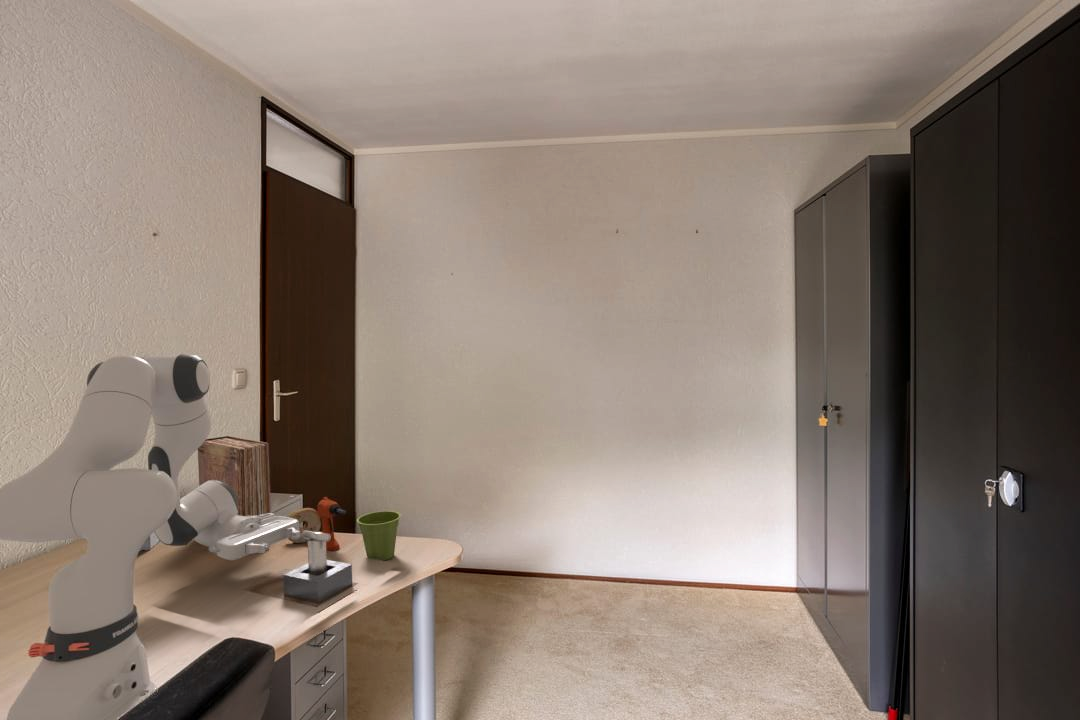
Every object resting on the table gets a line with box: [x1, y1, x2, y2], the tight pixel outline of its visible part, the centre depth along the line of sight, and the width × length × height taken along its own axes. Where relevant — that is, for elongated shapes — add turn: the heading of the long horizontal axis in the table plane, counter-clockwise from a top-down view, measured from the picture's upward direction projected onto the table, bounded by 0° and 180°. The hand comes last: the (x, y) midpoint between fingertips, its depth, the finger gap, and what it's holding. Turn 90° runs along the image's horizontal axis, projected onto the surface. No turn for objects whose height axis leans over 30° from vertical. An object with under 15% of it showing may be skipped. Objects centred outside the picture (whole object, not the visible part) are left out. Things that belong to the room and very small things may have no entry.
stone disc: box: [287, 507, 322, 544], centre depth 170 cm, size 10×4×10 cm, turn 135°
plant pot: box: [356, 510, 402, 562], centre depth 157 cm, size 12×12×11 cm
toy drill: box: [316, 496, 347, 552], centre depth 161 cm, size 5×19×15 cm, turn 40°
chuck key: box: [301, 531, 331, 576], centre depth 133 cm, size 8×4×14 cm, turn 66°
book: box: [197, 435, 272, 516], centre depth 174 cm, size 25×9×30 cm, turn 54°
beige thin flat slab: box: [241, 568, 359, 614], centre depth 136 cm, size 24×13×2 cm, turn 66°
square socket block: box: [283, 559, 353, 604], centre depth 133 cm, size 11×11×5 cm
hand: (282, 541), depth 137 cm, fingers open, 8 cm apart
